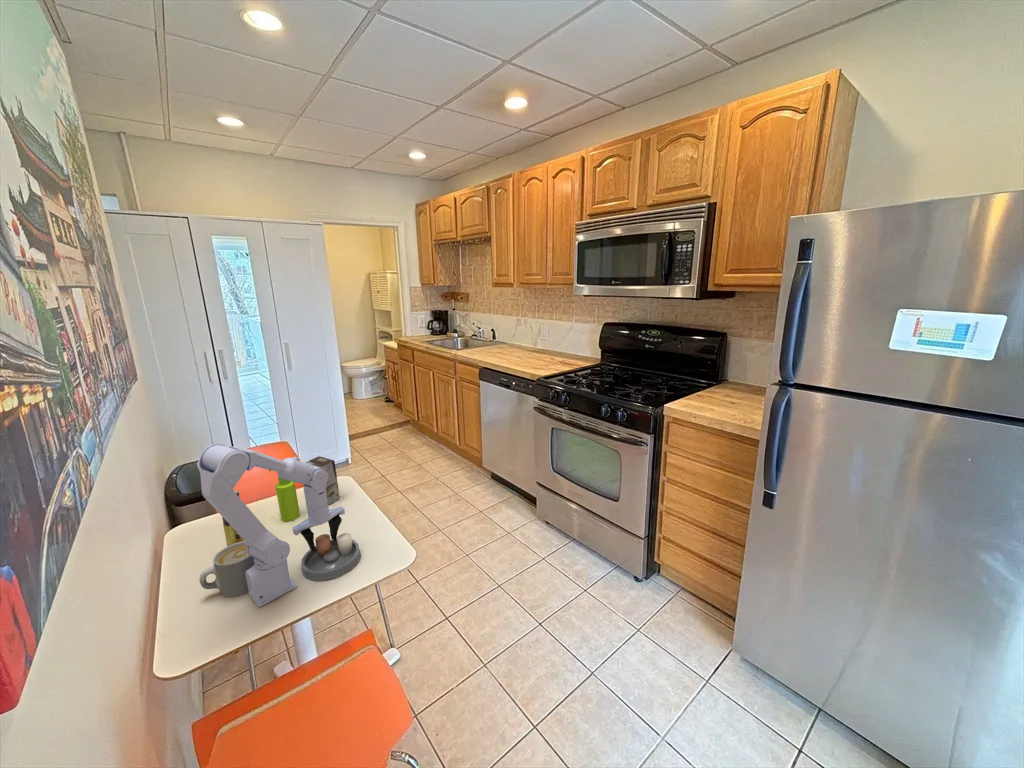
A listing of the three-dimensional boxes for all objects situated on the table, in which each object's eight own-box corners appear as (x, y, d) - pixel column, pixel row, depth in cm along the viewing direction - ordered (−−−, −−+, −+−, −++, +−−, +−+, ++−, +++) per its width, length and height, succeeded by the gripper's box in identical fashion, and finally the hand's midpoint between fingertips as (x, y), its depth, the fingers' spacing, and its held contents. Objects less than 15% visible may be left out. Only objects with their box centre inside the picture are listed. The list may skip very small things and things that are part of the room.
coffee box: (340, 498, 155) (335, 460, 151) (326, 506, 149) (320, 467, 145) (324, 493, 159) (319, 455, 155) (310, 500, 154) (304, 462, 150)
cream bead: (342, 557, 120) (340, 542, 119) (336, 551, 123) (334, 537, 121) (355, 550, 123) (353, 536, 121) (349, 545, 125) (347, 531, 124)
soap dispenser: (278, 515, 144) (269, 464, 139) (300, 511, 147) (291, 460, 142) (277, 524, 139) (267, 471, 134) (299, 519, 142) (290, 467, 137)
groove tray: (316, 590, 109) (315, 582, 108) (292, 564, 119) (291, 556, 118) (370, 559, 120) (369, 552, 120) (344, 538, 130) (343, 531, 130)
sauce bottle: (241, 558, 122) (228, 500, 117) (223, 556, 123) (210, 498, 118) (258, 545, 128) (247, 489, 123) (241, 543, 129) (229, 487, 124)
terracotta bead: (322, 558, 120) (320, 543, 118) (314, 553, 122) (312, 539, 120) (334, 551, 123) (332, 536, 122) (326, 546, 125) (324, 532, 124)
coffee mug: (263, 566, 118) (257, 537, 115) (262, 588, 109) (255, 557, 107) (208, 583, 112) (200, 552, 109) (201, 607, 103) (193, 574, 101)
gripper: (334, 490, 126) (340, 528, 129) (285, 509, 115) (292, 550, 119) (345, 497, 121) (351, 536, 125) (295, 518, 111) (302, 561, 114)
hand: (323, 544), depth 121 cm, fingers open, 6 cm apart
